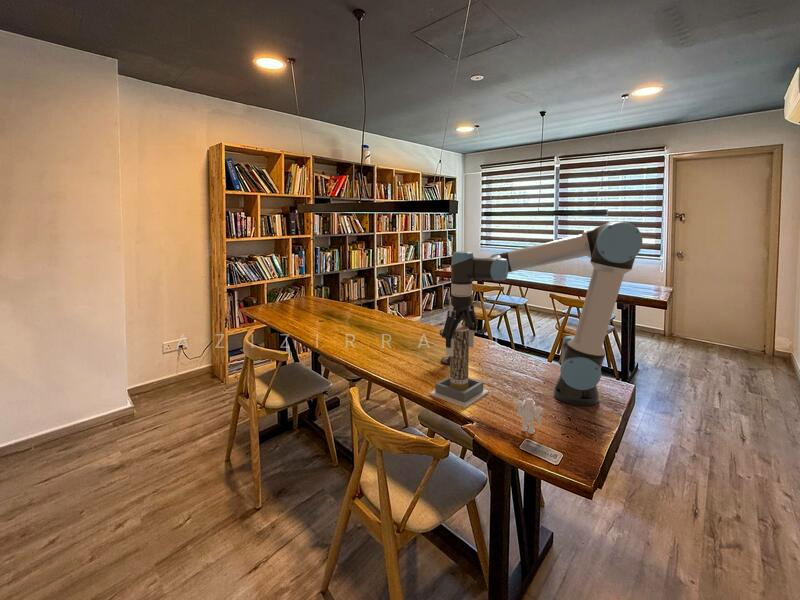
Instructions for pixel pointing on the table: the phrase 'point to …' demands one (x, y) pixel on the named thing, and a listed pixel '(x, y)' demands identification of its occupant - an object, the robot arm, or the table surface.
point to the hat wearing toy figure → (528, 413)
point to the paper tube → (460, 359)
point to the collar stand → (459, 392)
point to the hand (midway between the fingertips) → (460, 351)
